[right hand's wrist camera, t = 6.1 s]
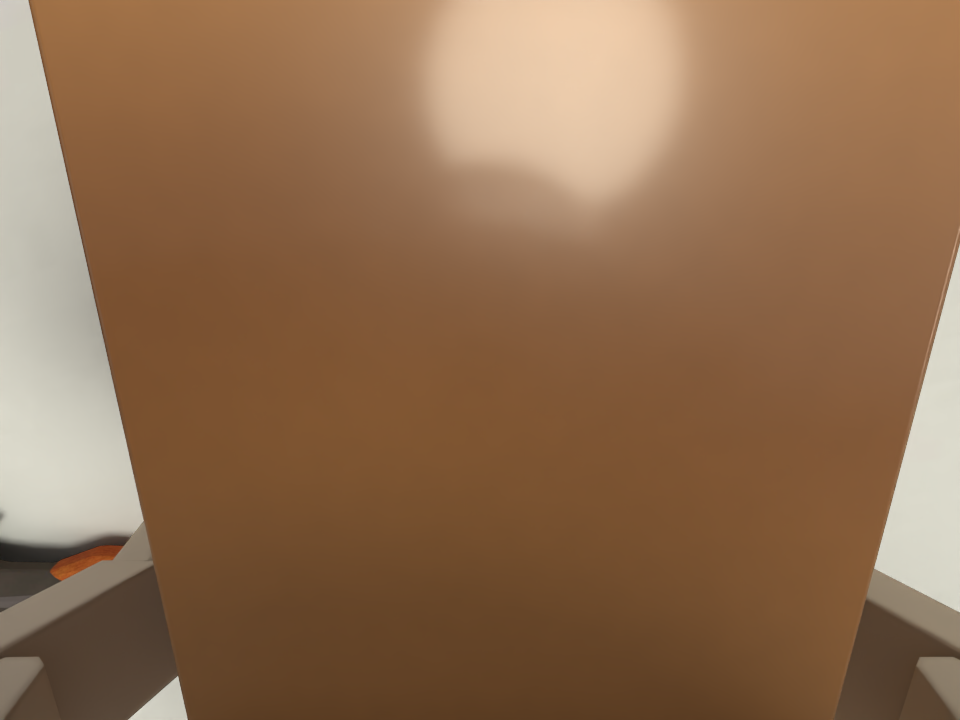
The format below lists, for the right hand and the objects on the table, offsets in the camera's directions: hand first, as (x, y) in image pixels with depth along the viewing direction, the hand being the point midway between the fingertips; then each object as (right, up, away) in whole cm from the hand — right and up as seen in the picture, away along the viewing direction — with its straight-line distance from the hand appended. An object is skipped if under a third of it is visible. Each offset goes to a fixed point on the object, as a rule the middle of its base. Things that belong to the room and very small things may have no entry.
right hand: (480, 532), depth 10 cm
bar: (0, +10, -1) cm, 10 cm away
